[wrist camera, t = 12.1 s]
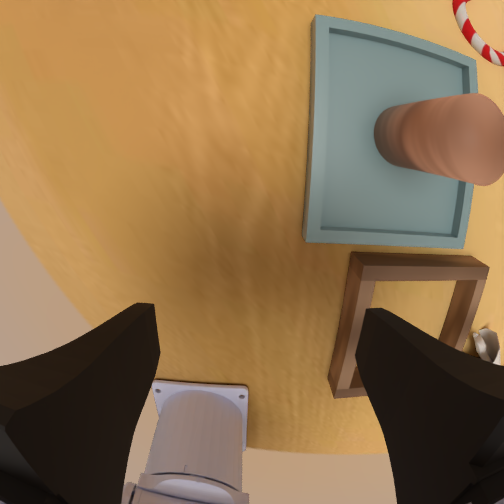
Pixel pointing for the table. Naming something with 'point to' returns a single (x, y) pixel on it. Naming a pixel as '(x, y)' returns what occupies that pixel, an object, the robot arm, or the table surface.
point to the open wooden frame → (401, 269)
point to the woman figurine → (487, 345)
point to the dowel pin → (445, 137)
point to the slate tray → (363, 144)
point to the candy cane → (475, 34)
